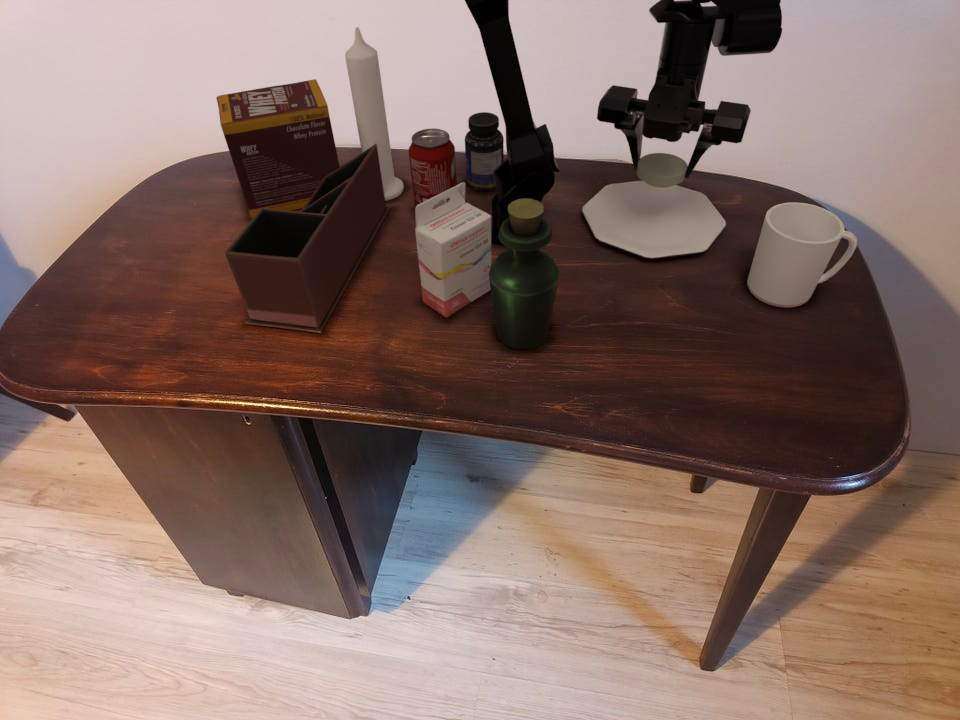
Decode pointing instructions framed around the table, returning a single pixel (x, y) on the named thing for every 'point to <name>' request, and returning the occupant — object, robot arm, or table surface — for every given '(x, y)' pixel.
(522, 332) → the potion bottle
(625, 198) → the plate
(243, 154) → the supplement box
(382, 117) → the candle
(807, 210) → the mug
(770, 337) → the table surface
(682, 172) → the green cylinder
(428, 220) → the ink cartridge box
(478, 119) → the pill bottle
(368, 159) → the desk organizer
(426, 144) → the soda can
